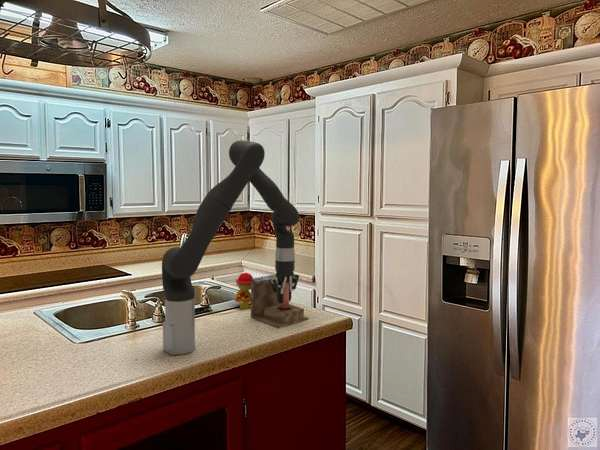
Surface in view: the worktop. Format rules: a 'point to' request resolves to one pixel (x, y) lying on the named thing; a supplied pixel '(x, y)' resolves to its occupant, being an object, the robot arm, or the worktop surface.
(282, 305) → the peg
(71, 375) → the worktop surface
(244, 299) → the toy
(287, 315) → the socket station
